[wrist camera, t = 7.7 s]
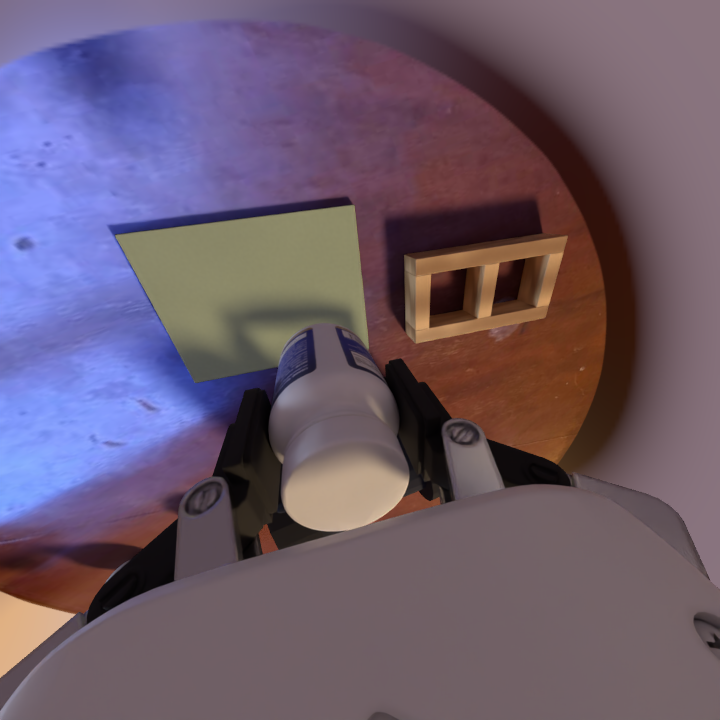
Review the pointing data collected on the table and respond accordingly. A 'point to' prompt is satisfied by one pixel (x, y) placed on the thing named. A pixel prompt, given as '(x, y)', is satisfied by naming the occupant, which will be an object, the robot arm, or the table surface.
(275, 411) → the pill bottle
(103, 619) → the robot arm
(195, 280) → the mat
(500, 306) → the rack
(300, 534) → the flashlight
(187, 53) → the table surface
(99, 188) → the table surface
